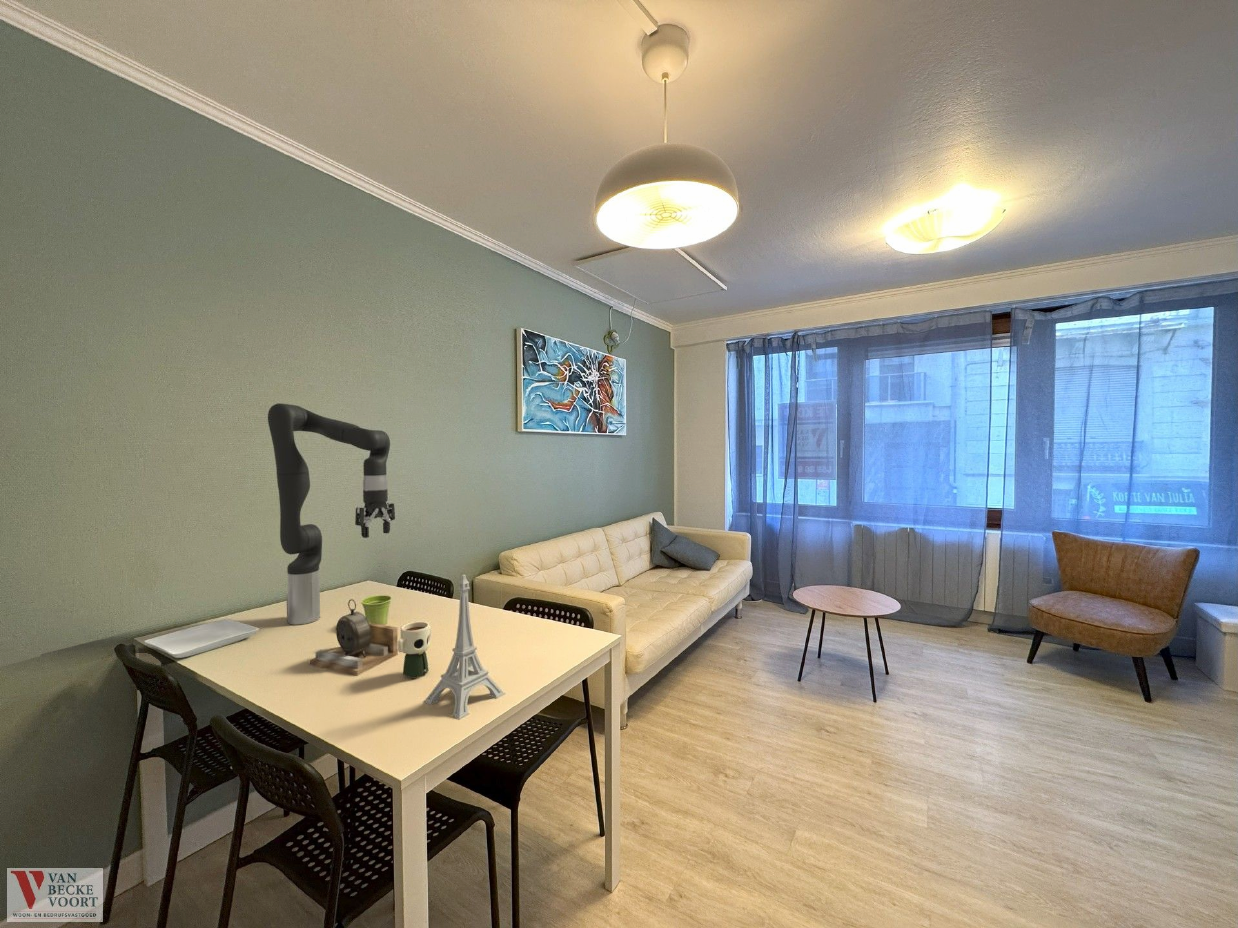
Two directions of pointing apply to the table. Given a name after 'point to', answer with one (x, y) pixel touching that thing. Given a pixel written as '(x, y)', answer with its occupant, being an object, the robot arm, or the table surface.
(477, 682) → the eiffel tower
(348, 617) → the alarm clock
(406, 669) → the character mug
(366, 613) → the plant pot
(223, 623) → the salad plate
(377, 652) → the track board
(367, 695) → the table surface
